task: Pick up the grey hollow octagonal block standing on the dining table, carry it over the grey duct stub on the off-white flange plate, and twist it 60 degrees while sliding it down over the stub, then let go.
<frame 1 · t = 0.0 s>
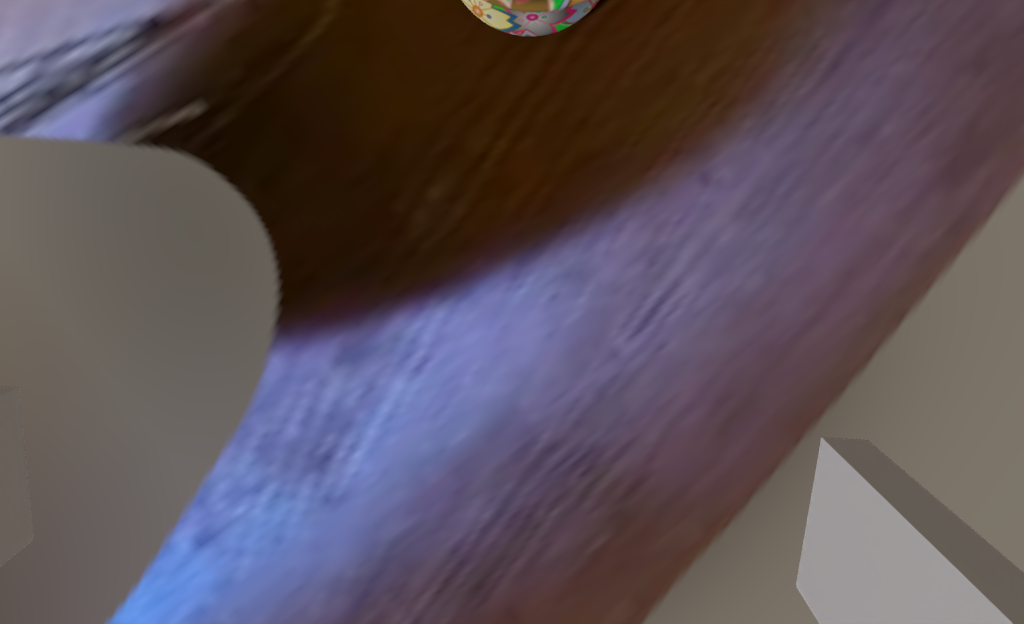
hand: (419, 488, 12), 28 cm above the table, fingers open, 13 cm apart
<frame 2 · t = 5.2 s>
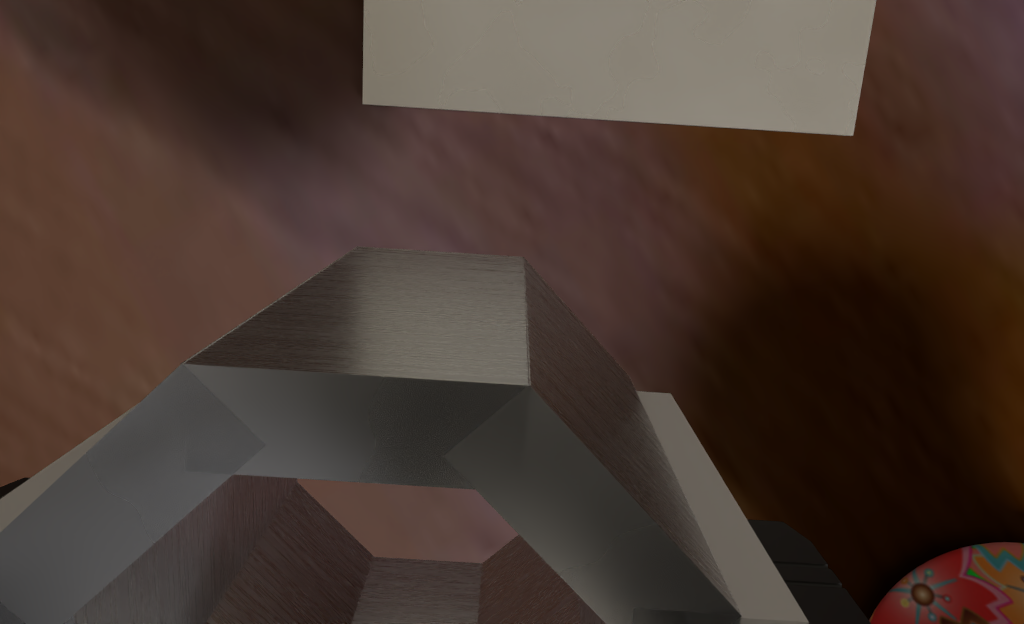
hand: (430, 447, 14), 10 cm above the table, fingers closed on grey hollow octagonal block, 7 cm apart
grey hollow octagonal block: (433, 438, 14), point 9 cm above the table, touching gripper
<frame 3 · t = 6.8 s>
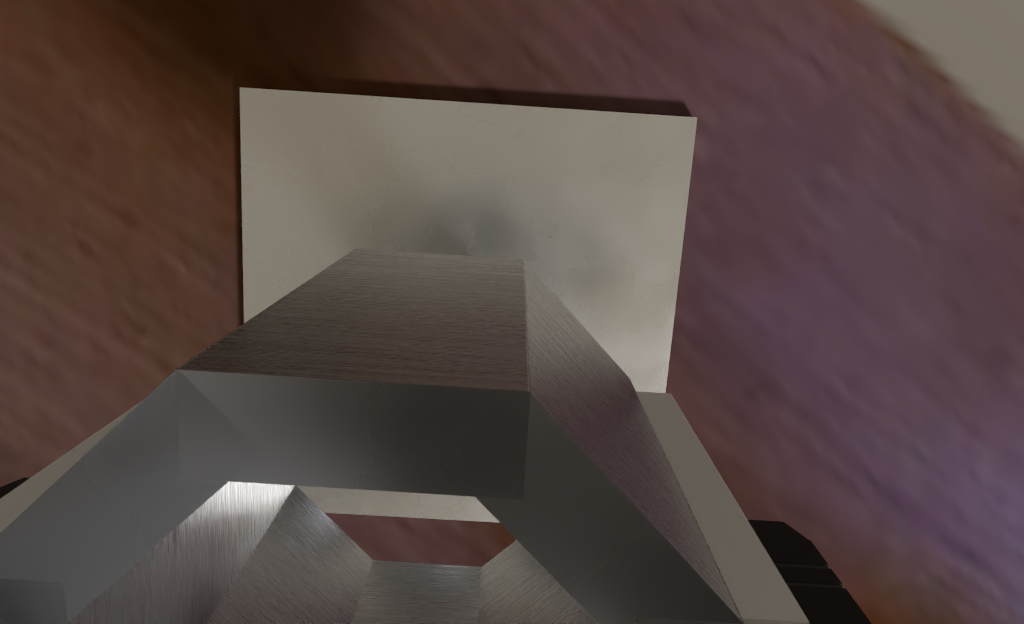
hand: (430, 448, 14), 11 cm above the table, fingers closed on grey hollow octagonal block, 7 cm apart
duct stub: (459, 321, 24), on the table
grey hollow octagonal block: (432, 441, 14), point 11 cm above the table, touching gripper
when the fingers open (2 cm above the table, at t = 8.9 s): grey hollow octagonal block stays where it is, resting on duct stub.
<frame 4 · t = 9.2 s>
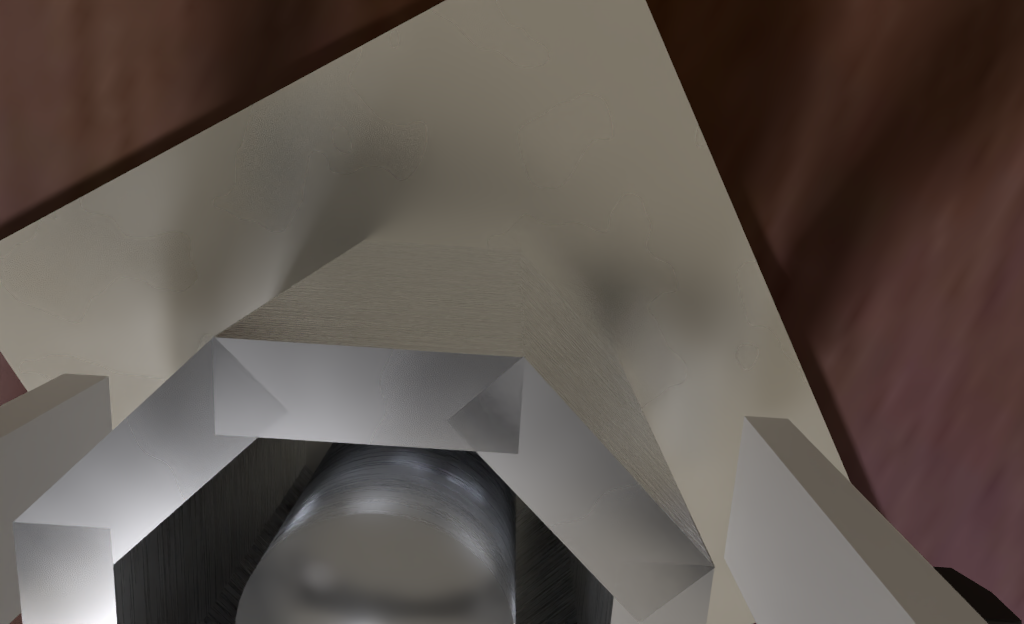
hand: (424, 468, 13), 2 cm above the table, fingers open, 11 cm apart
duct stub: (439, 416, 15), on the table
grey hollow octagonal block: (434, 423, 15), resting on duct stub
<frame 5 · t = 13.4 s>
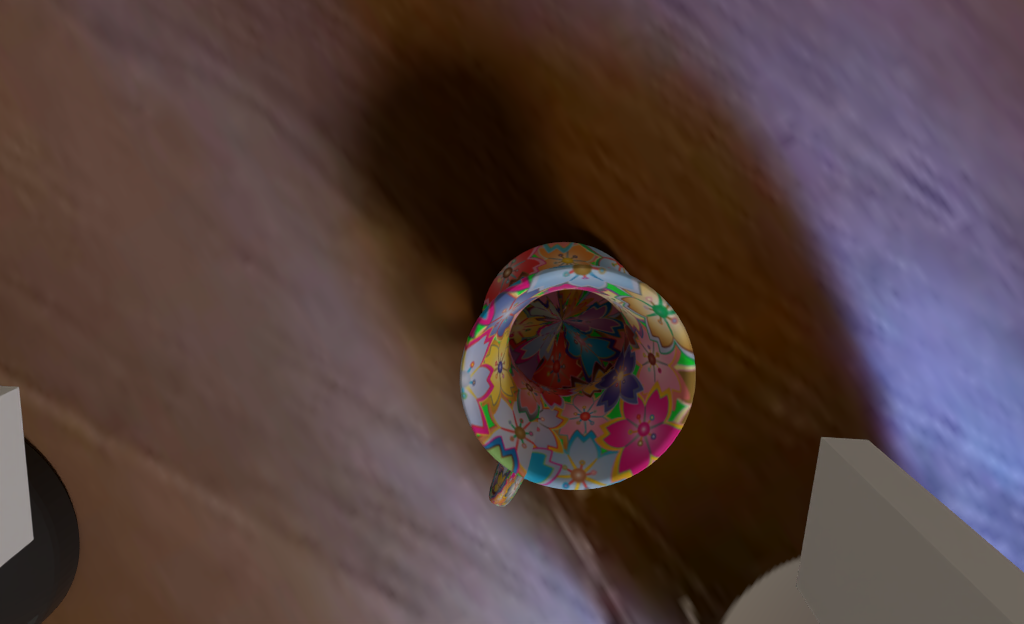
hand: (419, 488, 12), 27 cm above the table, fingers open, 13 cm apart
mug: (549, 339, 39), on the table
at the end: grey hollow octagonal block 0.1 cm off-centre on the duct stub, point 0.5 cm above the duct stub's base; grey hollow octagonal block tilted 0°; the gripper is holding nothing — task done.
